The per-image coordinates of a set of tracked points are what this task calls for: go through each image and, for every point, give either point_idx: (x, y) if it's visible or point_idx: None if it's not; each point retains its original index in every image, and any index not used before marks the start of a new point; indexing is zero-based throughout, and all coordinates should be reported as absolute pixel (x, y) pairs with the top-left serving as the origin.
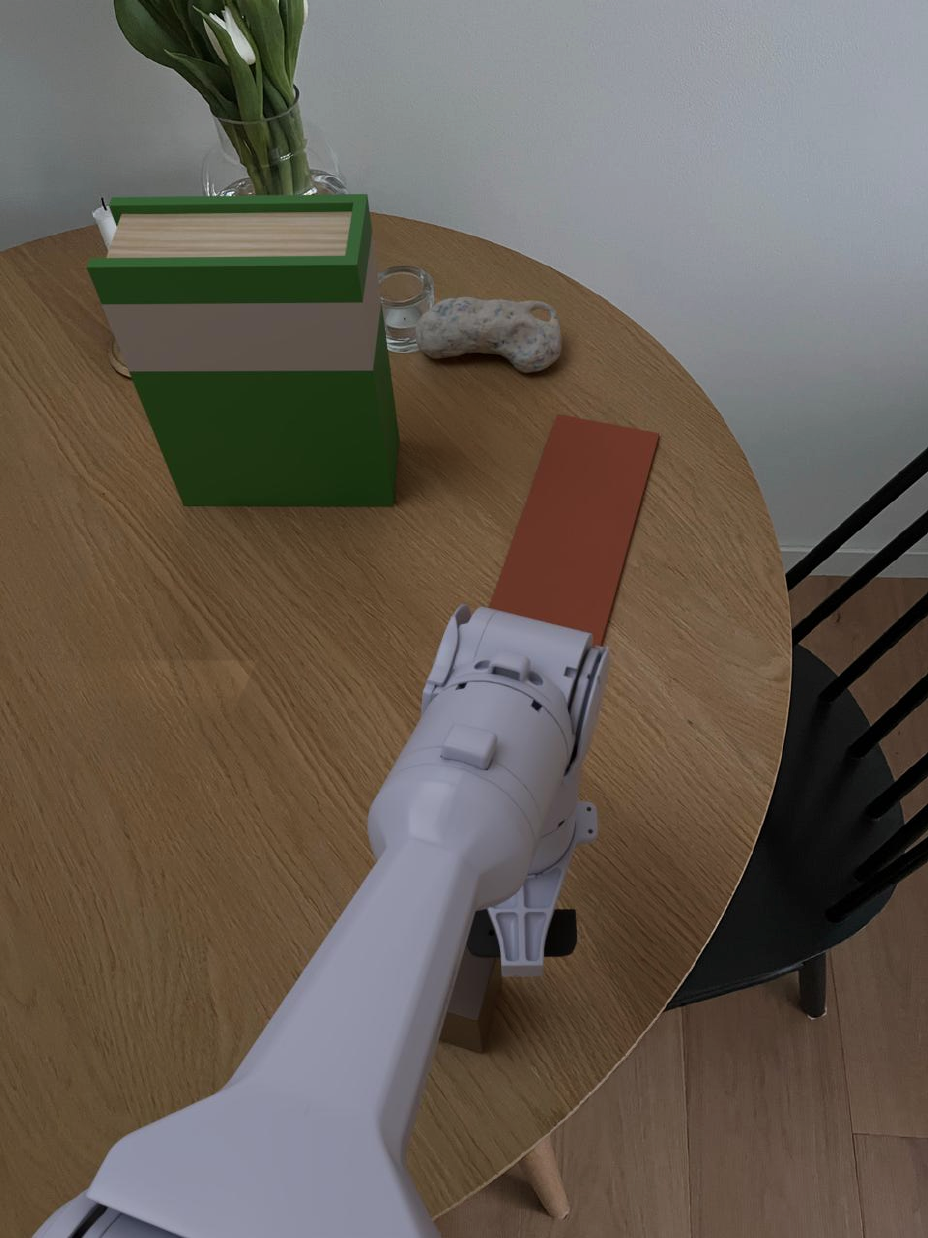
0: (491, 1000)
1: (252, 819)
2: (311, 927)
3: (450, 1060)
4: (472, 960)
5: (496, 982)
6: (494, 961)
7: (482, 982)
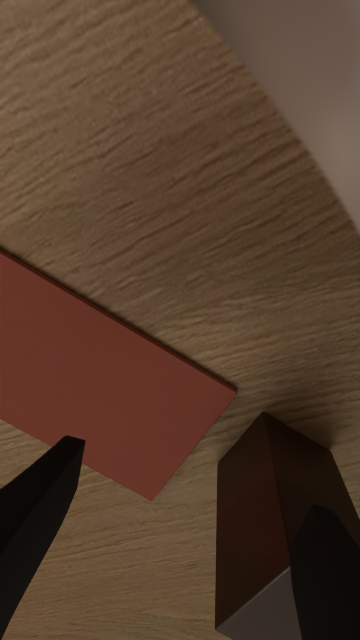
0: (315, 490)
1: None
2: (148, 547)
3: None
4: None
5: (295, 479)
6: None
7: None
